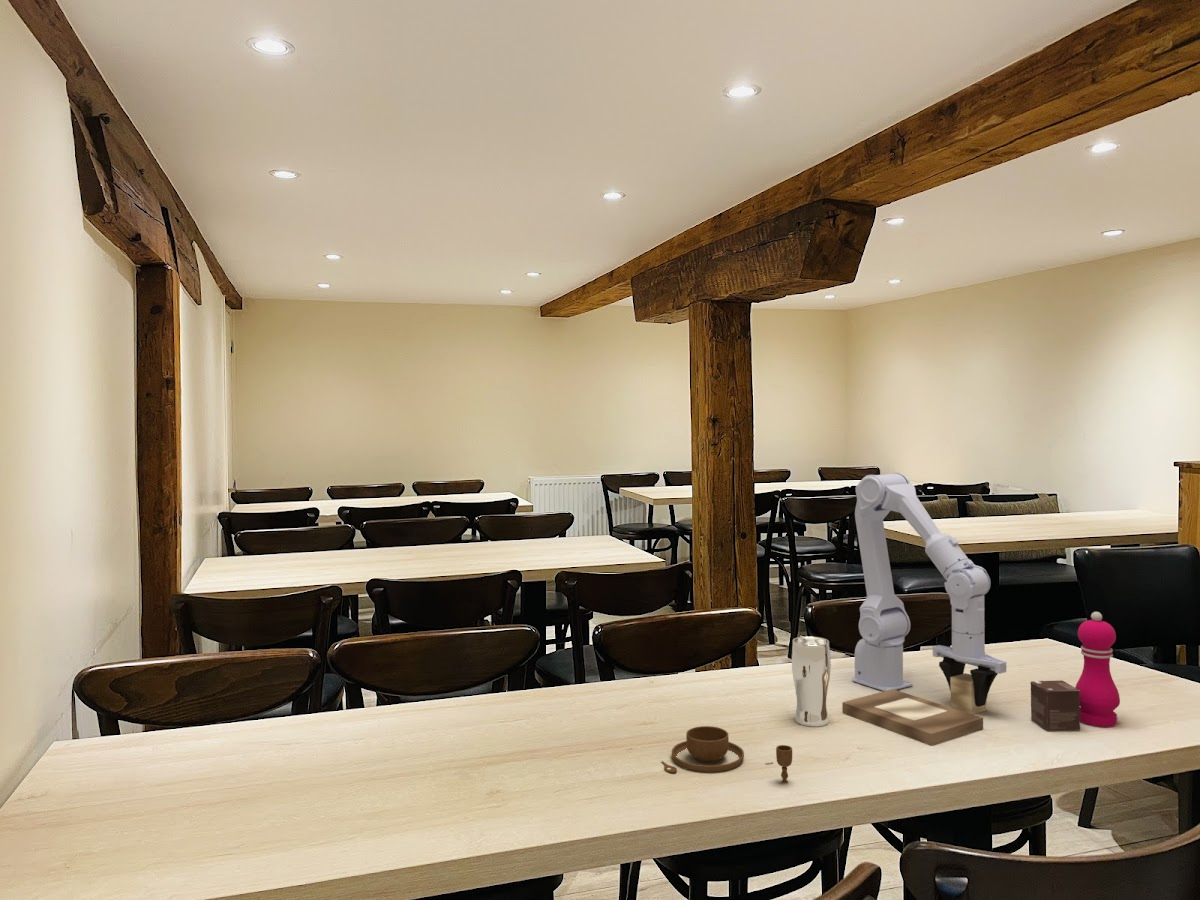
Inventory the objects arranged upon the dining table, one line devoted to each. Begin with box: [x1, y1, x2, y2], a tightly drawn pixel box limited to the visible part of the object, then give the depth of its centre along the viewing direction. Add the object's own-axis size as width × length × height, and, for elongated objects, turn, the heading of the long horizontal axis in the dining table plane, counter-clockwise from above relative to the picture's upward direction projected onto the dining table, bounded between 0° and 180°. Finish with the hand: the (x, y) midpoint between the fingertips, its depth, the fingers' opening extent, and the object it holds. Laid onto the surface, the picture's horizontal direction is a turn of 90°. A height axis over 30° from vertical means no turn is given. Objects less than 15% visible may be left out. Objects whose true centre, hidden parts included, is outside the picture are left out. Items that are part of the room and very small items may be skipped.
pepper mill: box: [1074, 611, 1121, 728], centre depth 156 cm, size 7×7×20 cm
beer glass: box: [791, 635, 832, 728], centre depth 159 cm, size 7×7×15 cm
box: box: [1030, 680, 1081, 732], centre depth 155 cm, size 6×6×7 cm
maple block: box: [950, 672, 988, 715], centre depth 164 cm, size 4×4×6 cm
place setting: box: [660, 725, 793, 784], centre depth 139 cm, size 18×20×6 cm
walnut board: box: [841, 689, 984, 746], centre depth 158 cm, size 20×14×2 cm
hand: (968, 701), depth 164 cm, fingers closed on maple block, 4 cm apart
